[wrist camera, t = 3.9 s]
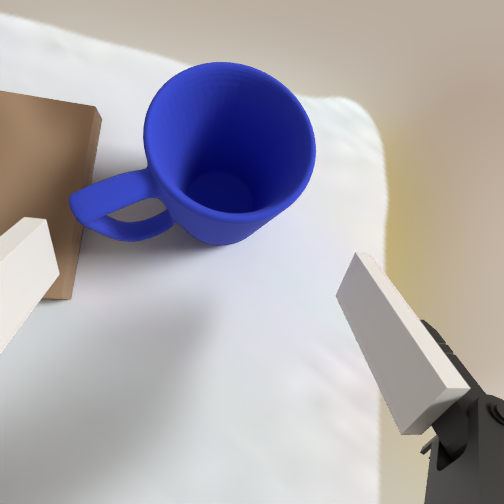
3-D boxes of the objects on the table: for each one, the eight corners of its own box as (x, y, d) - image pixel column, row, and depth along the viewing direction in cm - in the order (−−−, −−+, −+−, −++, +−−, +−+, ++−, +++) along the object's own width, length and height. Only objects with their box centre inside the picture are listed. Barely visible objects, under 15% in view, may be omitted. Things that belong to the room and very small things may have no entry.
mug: (98, 199, 21) (17, 114, 12) (240, 145, 24) (269, 41, 15) (145, 298, 21) (101, 294, 11) (285, 230, 24) (346, 181, 14)
